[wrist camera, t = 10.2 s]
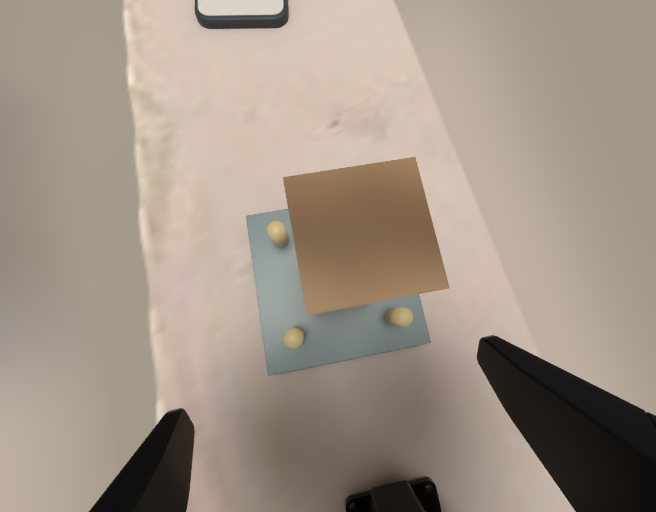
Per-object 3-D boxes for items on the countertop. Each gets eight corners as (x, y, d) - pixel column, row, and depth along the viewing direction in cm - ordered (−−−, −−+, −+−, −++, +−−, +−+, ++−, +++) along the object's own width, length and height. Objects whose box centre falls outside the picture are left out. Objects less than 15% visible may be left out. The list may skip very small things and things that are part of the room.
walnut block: (371, 301, 22) (449, 288, 9) (312, 312, 21) (306, 315, 9) (359, 244, 23) (415, 157, 10) (301, 254, 22) (283, 177, 9)
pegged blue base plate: (423, 340, 23) (449, 347, 18) (271, 371, 22) (260, 386, 18) (389, 198, 25) (405, 174, 21) (250, 221, 24) (235, 201, 20)
